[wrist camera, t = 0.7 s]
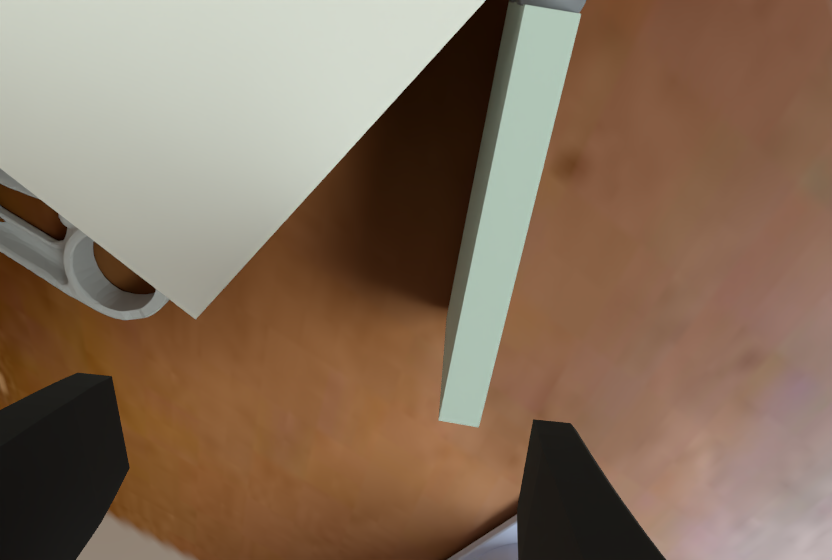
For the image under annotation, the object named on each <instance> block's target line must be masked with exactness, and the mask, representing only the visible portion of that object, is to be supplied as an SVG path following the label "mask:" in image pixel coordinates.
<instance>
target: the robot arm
mask: <svg viewBox="0 0 832 560" xmlns="http://www.w3.org/2000/svg"><path fill="white" fill-rule="evenodd" d="M128 470H129V463H128V458H127V452H126V447H125V442H124V437H123V432H122V427H121V422H120V416H119V411H118V406H117V401H116V396H115V391H114V385H113V380H112V376H104V375H94V374H84V373H76V374H74V375H71V376H69V377H67V378H64V379H62V380H60V381H58V382H56V383H53V384H51V385H49V386H47V387H45V388H43V389H41V390H39V391H37V392H35V393H33V394H31V395H29V396H27V397H25V398H23V399H21V400H19V401H17V402H15V403H13V404H11V405H9V406H7V407H5V408H3V409H2V410H0V560H76V558H77V557H78V556H79V554H80V552H81V551H82V550H83V548H84V547H85V545H86V544H87V542H88V541H89V540H90V538H91V537H92V535H93V534H94V532H95V531H96V529H97V528H98V526H99V525H100V523H101V522H102V520H103V518H104V516H105V514H106V512H107V511H108V509H109V507H110V505H111V503H112V501H113V500H114V498H115V496H116V494H117V492H118V490H119V488H120V486H121V484H122V482H123V480H124V478H125V476H126V474H127V472H128ZM447 560H666V559H665V558H664V556H663V555H662V554H661V553H660V551H659V550H658V549H657V547H656V546H655V545H654V543H653V542H652V541H651V540H650V538H649V537H648V536H647V534H646V533H645V532H644V530H643V529H642V527H641V526H640V525H639V523H638V522H637V520H636V519H635V518H634V516H633V515H632V514H631V512H630V511H629V509H628V508H627V507H626V505H625V504H624V503H623V501H622V500H621V498H620V497H619V495H618V494H617V492H616V491H615V490H614V488H613V487H612V485H611V484H610V482H609V481H608V479H607V478H606V476H605V475H604V473H603V472H602V470H601V469H600V467H599V466H598V464H597V463H596V461H595V459H594V458H593V456H592V455H591V453H590V452H589V450H588V448H587V447H586V445H585V444H584V442H583V440H582V439H581V437H580V436H579V434H578V432H577V431H576V429H575V428H574V427H573V426H572V424H571V423H563V422H553V421H543V420H533V424H532V429H531V435H530V440H529V446H528V452H527V457H526V463H525V468H524V474H523V479H522V485H521V490H520V496H519V501H518V507H517V514H516V515H515V516H513V517H512V518H510V519H509V520H507V521H506V522H504V523H503V524H501V525H500V526H498V527H496V528H495V529H493V530H492V531H490V532H489V533H487V534H486V535H484V536H483V537H481V538H480V539H478V540H476V541H475V542H473V543H472V544H470V545H469V546H467V547H466V548H464V549H463V550H461V551H459V552H458V553H456V554H455V555H453V556H452V557H450V558H449V559H447Z"/></svg>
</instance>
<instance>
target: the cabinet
mask: <svg viewBox="0 0 832 560" xmlns="http://www.w3.org/2000/svg"><path fill="white" fill-rule="evenodd" d="M485 1H486V0H0V169H2V170H3V171H4V172H6V173H7V174H8V175H9V176H11V177H12V178H13V179H15V180H16V181H17V182H18V183H20V184H21V185H22V186H24V187H25V188H26V189H28V190H29V191H30V192H31V193H33V194H34V195H35V196H37V197H38V198H39V199H40V200H42V201H43V202H44V203H46V204H47V205H48V206H49V207H51V208H52V209H53V210H55V211H56V212H57V213H59V214H60V215H61V216H62V217H64V218H65V219H66V220H68V221H69V222H70V223H71V224H73V225H74V226H75V227H77V228H78V229H79V230H81V231H82V232H83V233H84V234H86V235H87V236H88V237H90V238H91V239H92V240H93V241H95V242H96V243H97V244H99V245H100V246H101V247H102V248H104V249H105V250H106V251H108V252H109V253H110V254H112V255H113V256H114V257H115V258H117V259H118V260H119V261H121V262H122V263H123V264H124V265H126V266H127V267H128V268H130V269H131V270H132V271H133V272H135V273H136V274H137V275H139V276H140V277H141V278H143V279H144V280H145V281H146V282H148V283H149V284H150V285H152V286H153V287H154V288H155V289H157V290H158V291H159V292H161V293H162V294H163V295H165V296H166V297H167V298H168V299H170V300H171V301H172V302H174V303H175V304H176V305H177V306H179V307H180V308H181V309H183V310H184V311H185V312H186V313H188V314H189V315H190V316H192V317H193V318H194V319H197V317H198V316H199V315H200V314H201V313H202V312H203V311H204V310H205V309H206V308H207V306H208V305H209V304H210V303H211V302H212V301H213V300H214V299H215V298H216V297H217V295H218V294H219V293H220V292H221V291H222V290H223V289H224V288H225V287H226V286H227V284H228V283H229V282H230V281H231V280H232V279H233V278H234V277H235V276H236V275H237V273H238V272H239V271H240V270H241V269H242V268H243V267H244V266H245V265H246V264H247V262H248V261H249V260H250V259H251V258H252V257H253V256H254V255H255V254H256V253H257V251H258V250H259V249H260V248H261V247H262V246H263V245H264V244H265V243H266V242H267V240H268V239H269V238H270V237H271V236H272V235H273V234H274V233H275V232H276V231H277V229H278V228H279V227H280V226H281V225H282V224H283V223H284V222H285V221H286V220H287V218H288V217H289V216H290V215H291V214H292V213H293V212H294V211H295V210H296V209H297V207H298V206H299V205H300V204H301V203H302V202H303V201H304V200H305V199H306V198H307V196H308V195H309V194H310V193H311V192H312V191H313V190H314V189H315V188H316V187H317V185H318V184H319V183H320V182H321V181H322V180H323V179H324V178H325V177H326V176H327V174H328V173H329V172H330V171H331V170H332V169H333V168H334V167H335V166H336V165H337V163H338V162H339V161H340V160H341V159H342V158H343V157H344V156H345V155H346V154H347V152H348V151H349V150H350V149H351V148H352V147H353V146H354V145H355V144H356V143H357V141H358V140H359V139H360V138H361V137H362V136H363V135H364V134H365V133H366V132H367V130H368V129H369V128H370V127H371V126H372V125H373V124H374V123H375V122H376V121H377V119H378V118H379V117H380V116H381V115H382V114H383V113H384V112H385V111H386V110H387V108H388V107H389V106H390V105H391V104H392V103H393V102H394V101H395V100H396V99H397V97H398V96H399V95H400V94H401V93H402V92H403V91H404V90H405V89H406V88H407V86H408V85H409V84H410V83H411V82H412V81H413V80H414V79H415V78H416V77H417V75H418V74H419V73H420V72H421V71H422V70H423V69H424V68H425V67H426V66H427V64H428V63H429V62H430V61H431V60H432V59H433V58H434V57H435V56H436V55H437V53H438V52H439V51H440V50H441V49H442V48H443V47H444V46H445V45H446V44H447V42H448V41H449V40H450V39H451V38H452V37H453V36H454V35H455V34H456V33H457V31H458V30H459V29H460V28H461V27H462V26H463V25H464V24H465V23H466V22H467V20H468V19H469V18H470V17H471V16H472V15H473V14H474V13H475V12H476V11H477V9H478V8H479V7H480V6H481V5H482V4H483V3H484V2H485Z"/></svg>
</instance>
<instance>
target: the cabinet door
mask: <svg viewBox="0 0 832 560" xmlns="http://www.w3.org/2000/svg"><path fill="white" fill-rule="evenodd" d="M585 2H586V0H509V3H508V8H507V13H506V18H505V23H504V28H503V33H502V38H501V43H500V48H499V53H498V59H497V64H496V69H495V74H494V79H493V84H492V89H491V94H490V99H489V104H488V109H487V114H486V120H485V125H484V130H483V135H482V140H481V145H480V150H479V155H478V160H477V165H476V170H475V176H474V181H473V186H472V191H471V196H470V201H469V206H468V211H467V216H466V221H465V226H464V231H463V237H462V242H461V247H460V252H459V257H458V262H457V267H456V272H455V277H454V282H453V287H452V293H451V298H450V303H449V308H448V313H447V319H446V332H445V345H444V358H443V371H442V383H441V396H440V409H439V421H445V422H451V423H456V424H462V425H468V426H474V427H479V424H480V420H481V416H482V412H483V408H484V404H485V400H486V396H487V392H488V388H489V384H490V380H491V376H492V372H493V368H494V364H495V360H496V356H497V352H498V347H499V343H500V339H501V335H502V331H503V327H504V323H505V319H506V315H507V311H508V307H509V303H510V299H511V295H512V291H513V287H514V283H515V279H516V275H517V271H518V267H519V263H520V259H521V255H522V251H523V247H524V242H525V238H526V234H527V230H528V226H529V222H530V218H531V214H532V210H533V206H534V202H535V198H536V194H537V190H538V186H539V182H540V178H541V174H542V170H543V166H544V162H545V158H546V154H547V150H548V146H549V141H550V137H551V133H552V129H553V125H554V121H555V117H556V113H557V109H558V105H559V101H560V97H561V93H562V89H563V85H564V81H565V77H566V73H567V69H568V65H569V61H570V57H571V53H572V49H573V45H574V41H575V36H576V32H577V28H578V24H579V20H580V16H581V14H579V12H580V11H581V9H582V8H583V6H584V4H585Z"/></svg>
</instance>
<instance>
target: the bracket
mask: <svg viewBox="0 0 832 560" xmlns="http://www.w3.org/2000/svg"><path fill="white" fill-rule="evenodd" d="M0 184H2V185H5V186H7V187H9V188H11V189H14V190H17V191H19V192H22V193H24V194H27V195H30V196H32V197H35V198H37V199H39V198H38V197H37V196H35V195H34V194H33V193H31V192H30V191H29V190H28V189H26V188H25V187H24V186H22V185H21V184H20V183H18V182H17V181H16V180H15V179H13V178H12V177H11V176H9V175H8V174H7V173H6V172H4V171H3V170H2V169H0ZM0 217H1V218H3V219H4V220H5V221H6V222H0V252H2V253H4V254H5V255H7V256H8V257H10V258H12V259H13V260H15V261H16V262H18V263H19V264H21V265H23V266H24V267H26V268H27V269H29V270H31V271H32V272H33V273H35V274H36V275H38V276H39V277H41V278H43V279H45V280H46V281H48V282H49V283H50V284H52V285H54V286H55V287H57V288H58V289H60V290H62V291H63V292H64V293H66V294H67V295H69V296H71V297H73V298H75V299H77V300H79V301H80V302H82V303H84V304H86V305H87V306H89V307H91V308H93V309H94V310H96V311H98V312H100V313H103V314H105V315H107V316H110V317H113V318H116V319H121V320H132V319H140V318H145V317H149V316H151V315H153V314H155V313H156V312H157V311H159V310H160V309H161V308H162V307H163V306H164V305H165V304H166V303H167V302H168V301H169V300H170V299H168V298H167V297H166V296H165V295H163V294H162V293H161V292H159V291H158V290H157V289H156V291H155V293H151V294H133V293H129V292H125V291H122V290H120V289H118V288H117V287H115V286H114V285H112V284H111V283H110V282H109V281H108V280H107V279H106V278H105V277H104V275H103V274H102V272H101V271H100V269H99V268H98V266H97V263H96V261H95V258H94V253H93V242H94V241H93V240H92V239H91V238H90V237H88V236H87V235H86V234H84V233H83V232H82V231H81V230H79V229H78V228H77V227H75V226H74V225H73V224H71V223H70V222H69V221H68V220H66V219H65V218H64V217H62V216H61V215H60V214H59V218H60V220H61V222H62V223H63V225H65V226H66V227H67V233H66V236H65V239H64V240H61V241H58V240H56V239H54V238H52V237H51V236H49V235H47V234H46V233H44V232H42V231H41V230H39V229H37V228H36V227H34V226H32V225H31V224H29V223H27V222H26V221H24V220H23V219H21V218H19V217H18V216H16V215H14V214H13V213H11V212H9V211H8V210H6V209H4V208H3V207H2V206H1V205H0Z"/></svg>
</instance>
